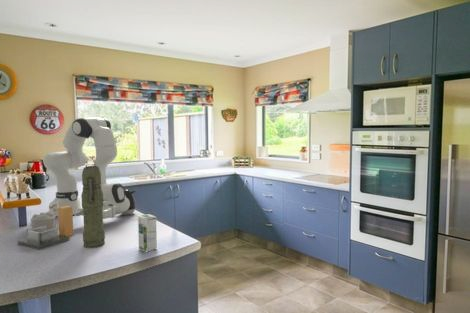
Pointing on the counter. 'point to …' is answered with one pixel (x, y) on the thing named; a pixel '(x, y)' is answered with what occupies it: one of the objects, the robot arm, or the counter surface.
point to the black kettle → (132, 202)
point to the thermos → (92, 207)
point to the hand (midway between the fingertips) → (81, 215)
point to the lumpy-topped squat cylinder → (43, 221)
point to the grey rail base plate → (42, 238)
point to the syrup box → (147, 232)
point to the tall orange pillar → (65, 221)
